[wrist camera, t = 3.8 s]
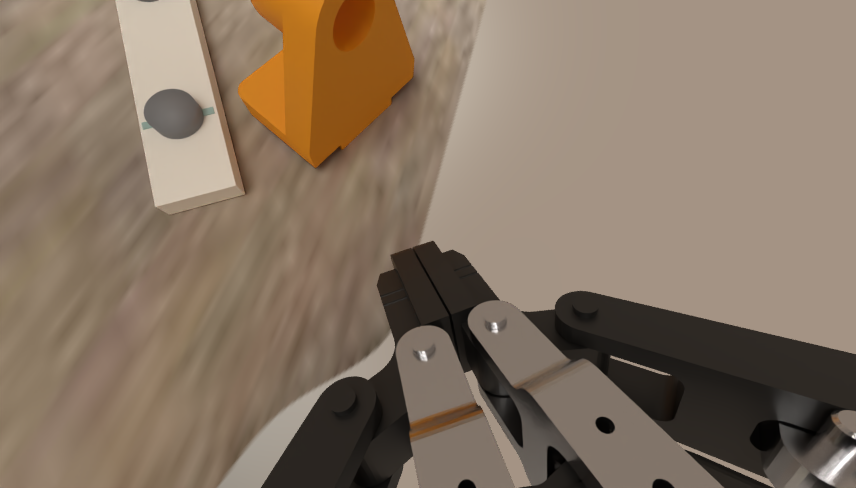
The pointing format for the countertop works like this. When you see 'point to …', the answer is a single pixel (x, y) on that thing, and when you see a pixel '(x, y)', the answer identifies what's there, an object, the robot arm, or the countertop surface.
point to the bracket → (328, 71)
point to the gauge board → (178, 105)
